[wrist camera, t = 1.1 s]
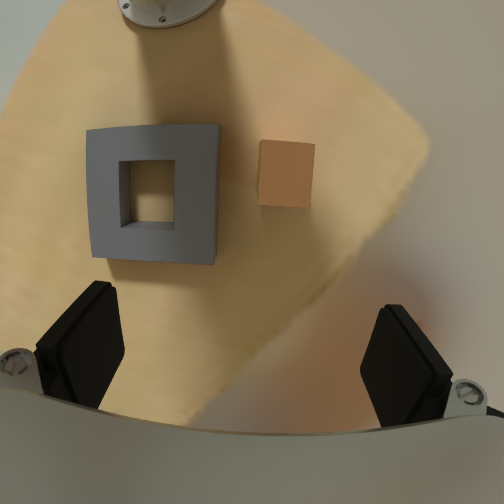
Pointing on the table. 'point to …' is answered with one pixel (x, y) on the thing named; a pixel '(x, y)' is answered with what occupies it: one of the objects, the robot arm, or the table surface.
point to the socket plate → (185, 192)
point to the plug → (285, 173)
